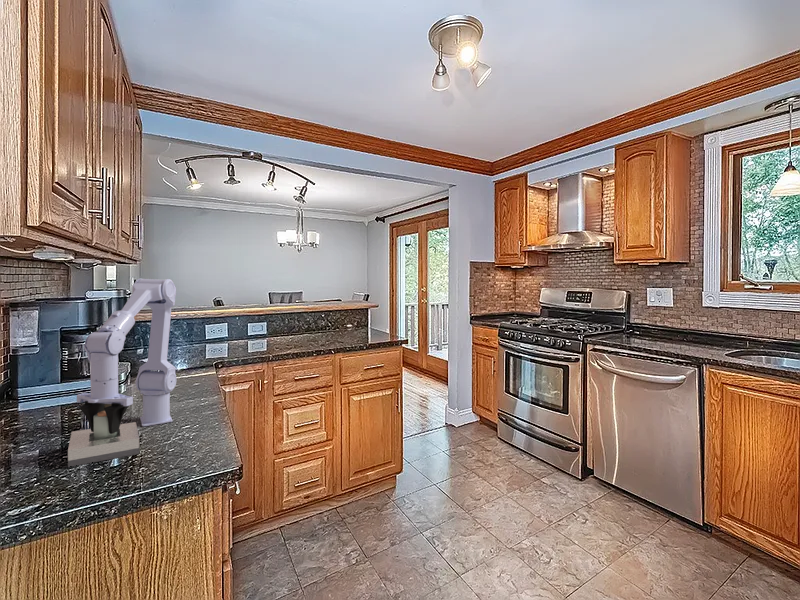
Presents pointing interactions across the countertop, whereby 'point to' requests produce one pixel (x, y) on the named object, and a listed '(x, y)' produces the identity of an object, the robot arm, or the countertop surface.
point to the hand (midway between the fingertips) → (104, 431)
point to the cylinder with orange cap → (102, 427)
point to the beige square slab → (102, 445)
